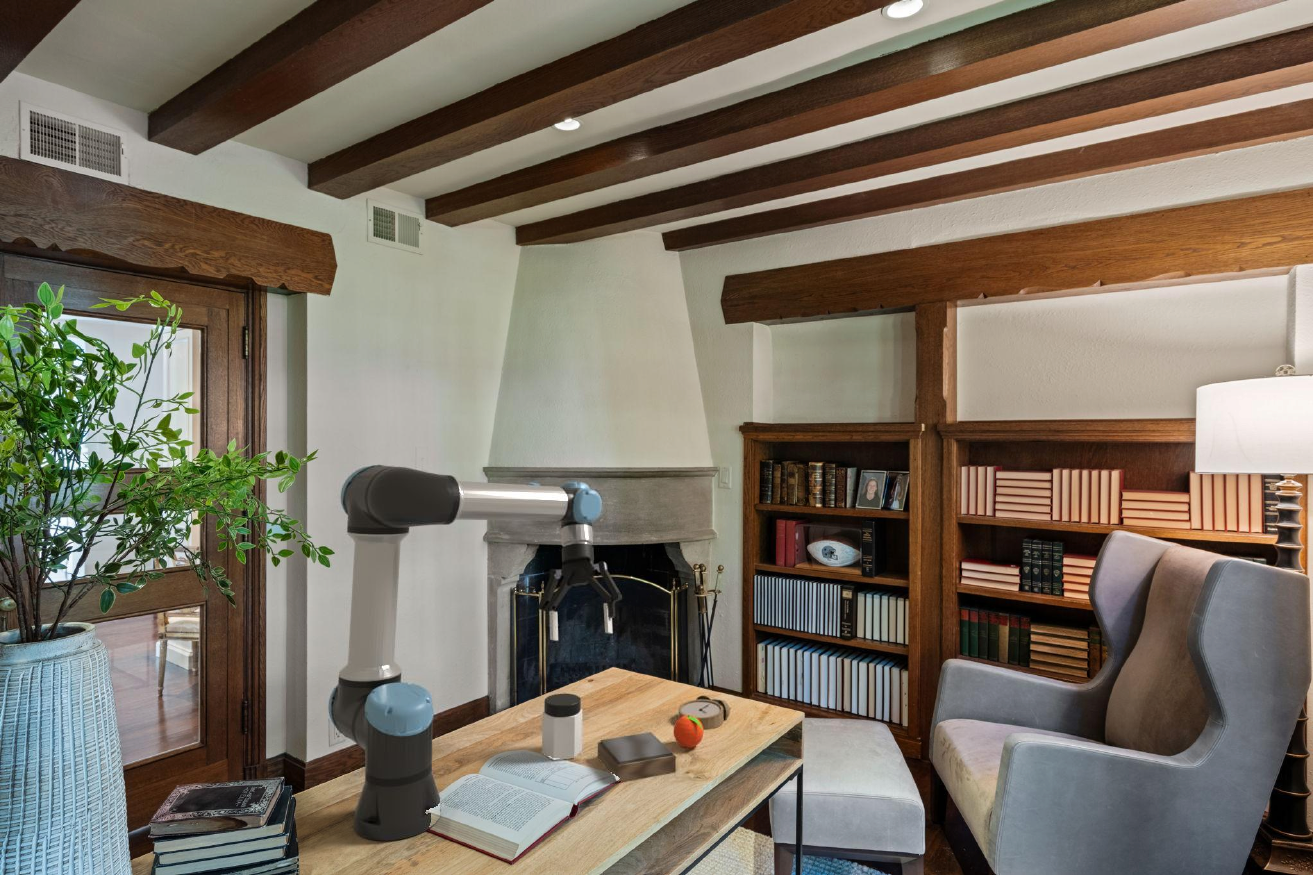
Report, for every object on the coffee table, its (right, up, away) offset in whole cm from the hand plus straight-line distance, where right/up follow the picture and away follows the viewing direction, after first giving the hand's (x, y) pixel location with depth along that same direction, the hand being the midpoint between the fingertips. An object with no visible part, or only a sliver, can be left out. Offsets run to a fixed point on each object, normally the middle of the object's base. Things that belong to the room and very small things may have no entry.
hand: (581, 636), depth 169 cm
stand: (+13, -25, -9) cm, 30 cm away
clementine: (+25, -26, 0) cm, 36 cm away
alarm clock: (+30, -26, +17) cm, 43 cm away
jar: (-4, -25, -4) cm, 26 cm away
